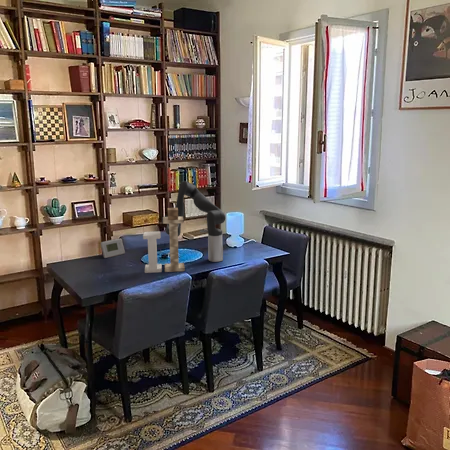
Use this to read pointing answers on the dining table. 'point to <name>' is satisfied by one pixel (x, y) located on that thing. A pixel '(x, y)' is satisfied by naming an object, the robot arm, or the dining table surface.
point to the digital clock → (112, 248)
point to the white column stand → (152, 252)
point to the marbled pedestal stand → (173, 245)
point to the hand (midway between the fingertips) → (172, 216)
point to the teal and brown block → (172, 213)
